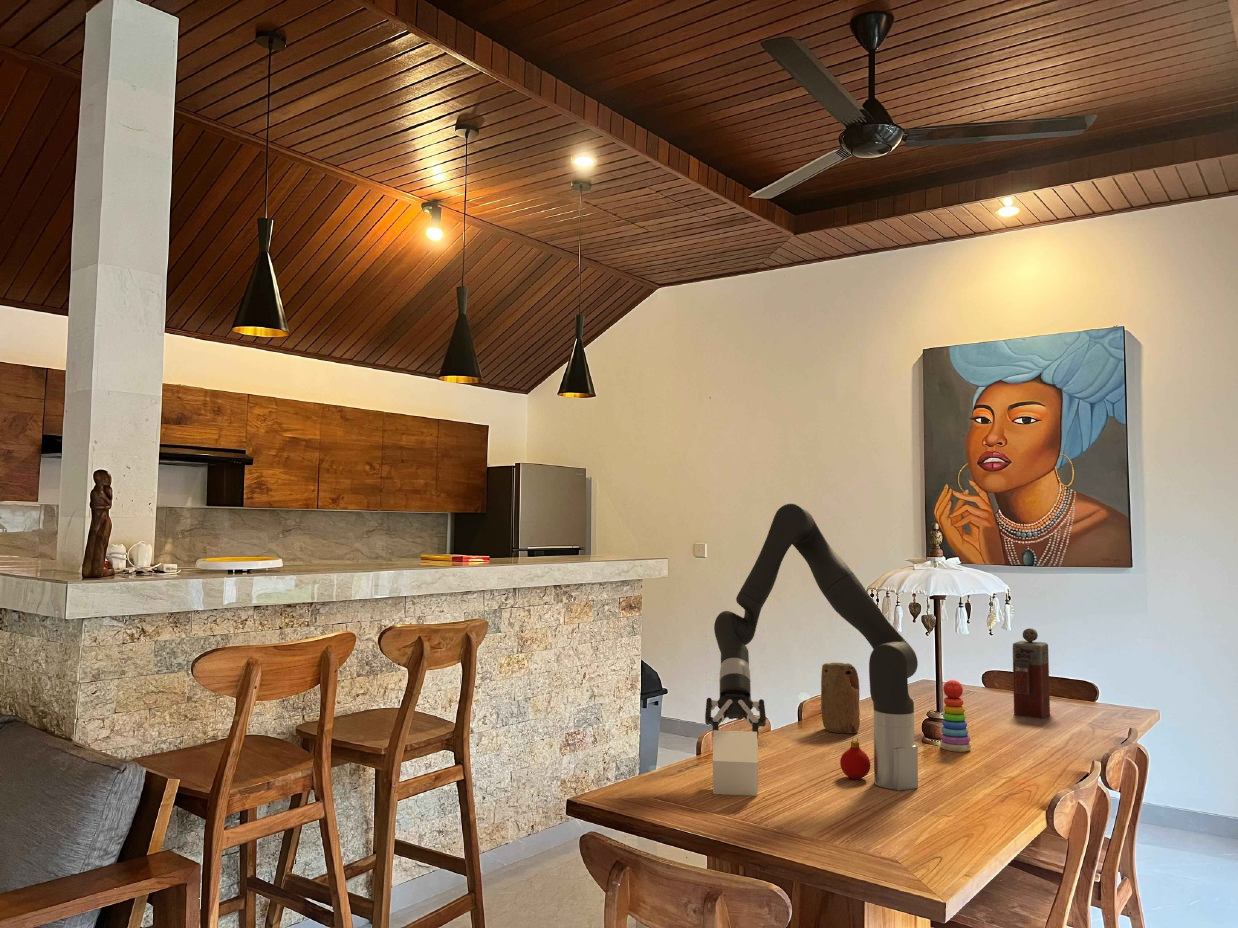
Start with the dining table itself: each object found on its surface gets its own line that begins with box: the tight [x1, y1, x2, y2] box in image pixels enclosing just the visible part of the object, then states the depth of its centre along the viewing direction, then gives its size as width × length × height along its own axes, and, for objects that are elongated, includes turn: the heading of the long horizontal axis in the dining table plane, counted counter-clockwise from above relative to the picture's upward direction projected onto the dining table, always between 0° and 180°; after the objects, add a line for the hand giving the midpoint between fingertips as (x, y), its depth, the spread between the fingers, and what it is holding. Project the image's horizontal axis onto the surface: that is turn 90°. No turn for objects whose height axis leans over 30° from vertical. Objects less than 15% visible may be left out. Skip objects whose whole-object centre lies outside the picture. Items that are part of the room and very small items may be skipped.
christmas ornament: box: [839, 736, 871, 780], centre depth 217 cm, size 7×7×10 cm
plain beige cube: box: [712, 729, 759, 797], centre depth 205 cm, size 10×10×10 cm
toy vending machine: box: [1012, 627, 1051, 719], centre depth 294 cm, size 9×11×28 cm
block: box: [820, 662, 861, 735], centre depth 268 cm, size 11×8×20 cm
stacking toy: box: [939, 679, 972, 753], centre depth 247 cm, size 8×8×19 cm
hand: (735, 739), depth 208 cm, fingers open, 8 cm apart
